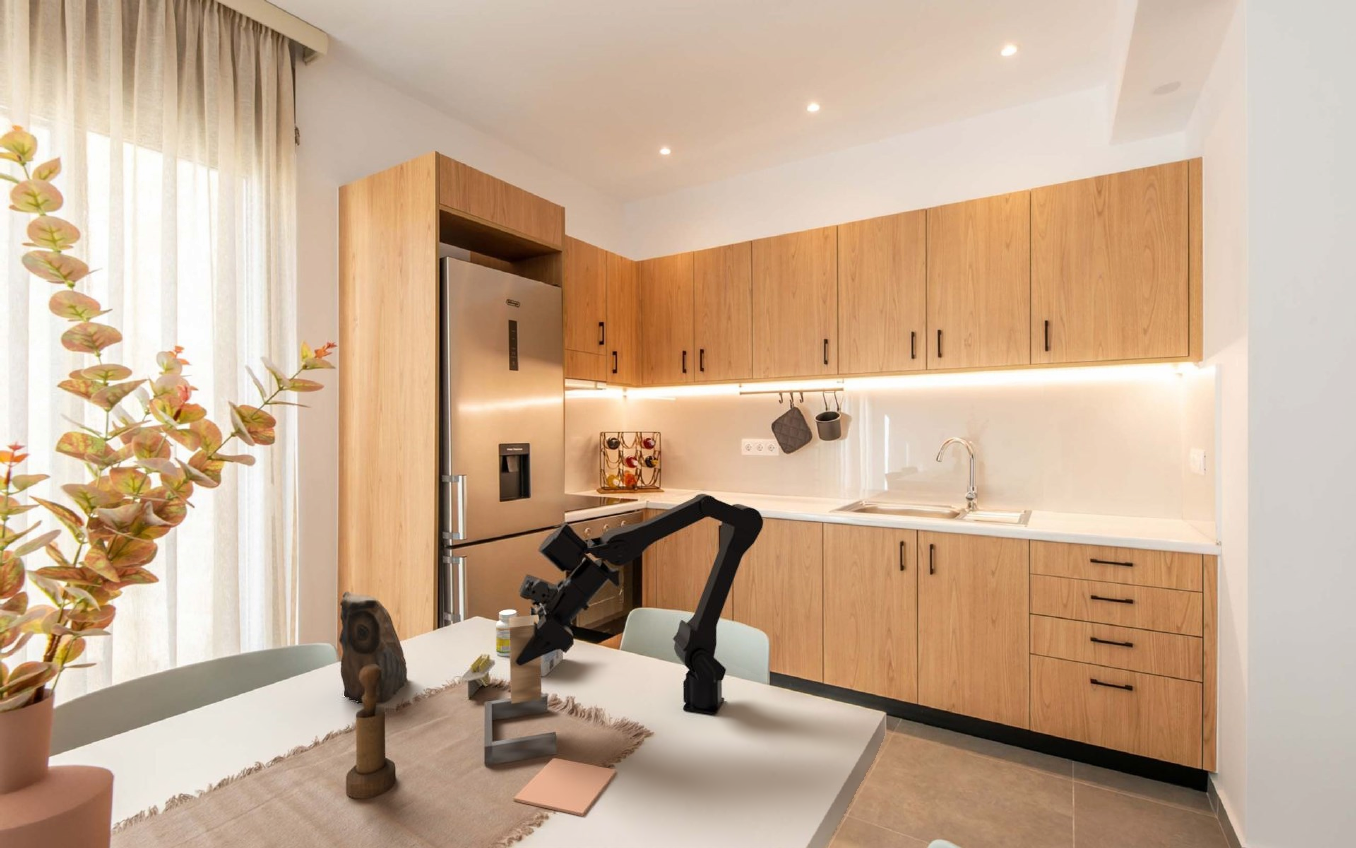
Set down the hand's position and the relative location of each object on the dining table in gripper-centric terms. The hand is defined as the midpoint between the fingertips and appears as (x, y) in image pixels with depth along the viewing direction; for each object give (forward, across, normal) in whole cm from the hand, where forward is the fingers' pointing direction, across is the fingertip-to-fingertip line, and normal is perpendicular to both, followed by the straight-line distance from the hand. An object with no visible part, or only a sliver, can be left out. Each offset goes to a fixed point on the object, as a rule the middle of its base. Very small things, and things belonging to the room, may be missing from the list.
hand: (516, 658), depth 105 cm
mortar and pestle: (+25, +8, -6) cm, 27 cm away
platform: (+14, -21, +5) cm, 26 cm away
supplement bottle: (+10, -41, +9) cm, 43 cm away
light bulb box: (+5, -30, +14) cm, 33 cm away
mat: (+5, +18, +14) cm, 23 cm away
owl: (+28, -27, -9) cm, 40 cm away
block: (+4, 0, +6) cm, 7 cm away
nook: (+9, 0, +10) cm, 13 cm away
